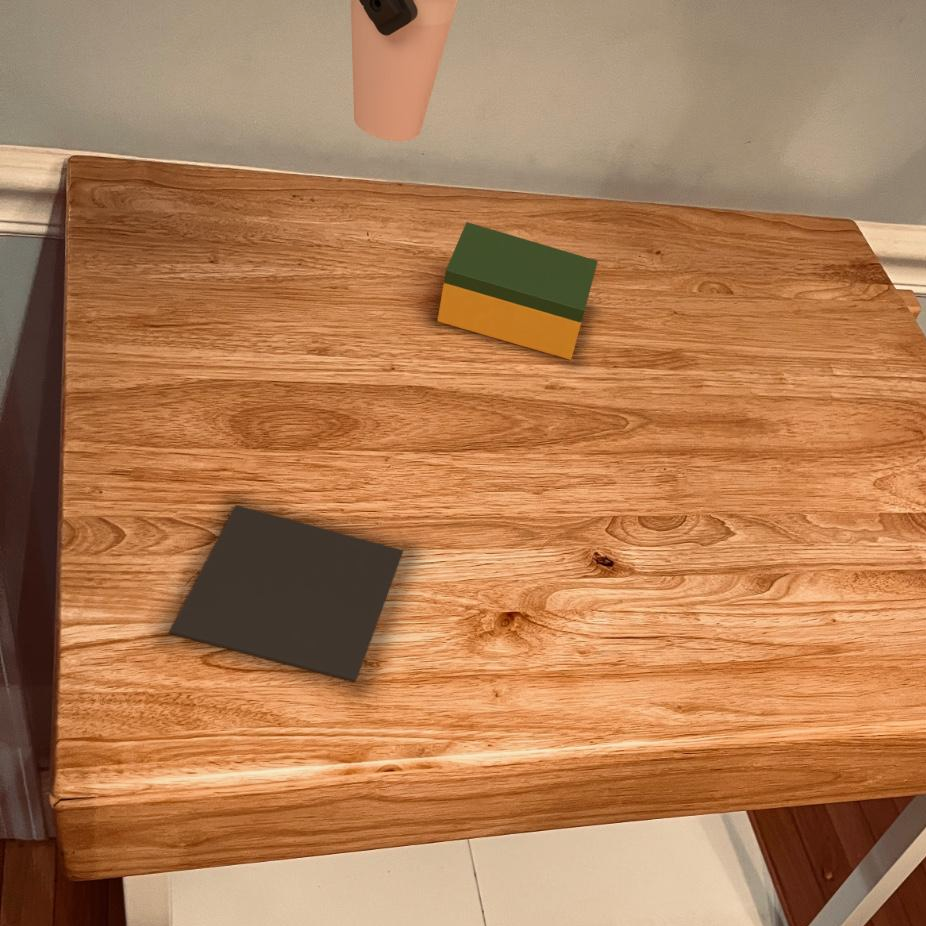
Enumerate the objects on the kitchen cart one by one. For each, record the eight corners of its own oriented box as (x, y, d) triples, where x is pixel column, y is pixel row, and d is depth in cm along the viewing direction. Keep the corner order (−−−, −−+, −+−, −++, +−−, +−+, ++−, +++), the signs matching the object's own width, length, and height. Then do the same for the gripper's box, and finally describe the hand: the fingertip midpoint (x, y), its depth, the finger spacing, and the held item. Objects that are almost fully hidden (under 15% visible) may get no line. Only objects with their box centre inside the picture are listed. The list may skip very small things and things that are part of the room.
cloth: (169, 633, 56) (169, 631, 56) (235, 507, 62) (235, 504, 62) (355, 682, 57) (355, 679, 57) (402, 552, 63) (402, 550, 63)
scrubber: (437, 321, 77) (445, 269, 74) (457, 272, 81) (466, 221, 78) (570, 360, 78) (584, 310, 75) (584, 309, 82) (598, 260, 79)
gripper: (192, -404, 46) (426, 18, 54) (364, -427, 56) (541, -67, 64) (80, -291, 50) (313, 85, 58) (259, -331, 60) (437, -5, 68)
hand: (432, 4), depth 61 cm, fingers closed on smoothie, 6 cm apart
